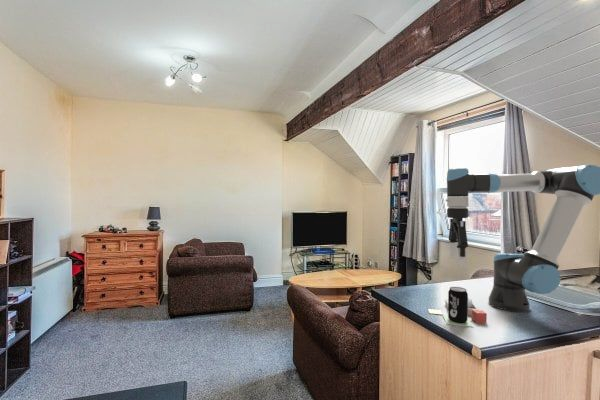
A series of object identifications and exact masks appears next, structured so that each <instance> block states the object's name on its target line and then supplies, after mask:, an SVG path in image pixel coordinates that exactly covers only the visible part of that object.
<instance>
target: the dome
mask: <svg viewBox="0 0 600 400" xmlns="http://www.w3.org/2000/svg"><path fill="white" fill-rule="evenodd" d="M472 302H473V299H471V298H469V297H468V308H471V307H472Z"/></svg>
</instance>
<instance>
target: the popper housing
mask: <svg viewBox="0 0 600 400" xmlns="http://www.w3.org/2000/svg"><path fill="white" fill-rule="evenodd" d="M444 305H445V307H446V309H447V310H448V298H445V299H444ZM472 310H480V308H479V307H478V306H477V304H476V303H475V302H474V301H472V307H471V308H468V316H471V317H472Z"/></svg>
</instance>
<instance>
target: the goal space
mask: <svg viewBox="0 0 600 400" xmlns="http://www.w3.org/2000/svg"><path fill="white" fill-rule="evenodd" d="M442 318H443V320H444V322H445V324H446V325H451V326H460V327H468V328H474V325H473V323H472V322H471V319H469V318H468V320H467V321H466V322H465V323H456V322H453V321H451V320H450V319H449V318H448V315H447V314H443V315H442Z"/></svg>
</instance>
